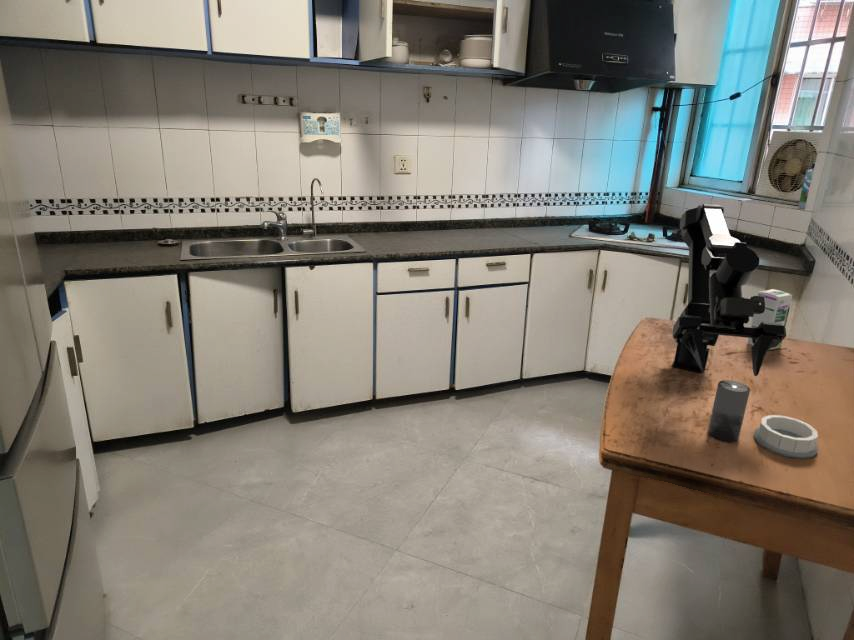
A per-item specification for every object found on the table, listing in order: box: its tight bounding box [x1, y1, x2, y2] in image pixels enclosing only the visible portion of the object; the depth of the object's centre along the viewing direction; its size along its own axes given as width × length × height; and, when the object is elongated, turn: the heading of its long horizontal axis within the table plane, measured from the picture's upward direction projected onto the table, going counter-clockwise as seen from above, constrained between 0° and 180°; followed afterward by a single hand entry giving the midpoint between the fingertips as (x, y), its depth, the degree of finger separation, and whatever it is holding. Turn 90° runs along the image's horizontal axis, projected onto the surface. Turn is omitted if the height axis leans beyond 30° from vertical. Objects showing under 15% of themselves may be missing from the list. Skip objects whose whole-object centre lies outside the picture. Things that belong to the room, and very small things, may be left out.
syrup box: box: [747, 288, 793, 351], centre depth 151 cm, size 6×6×14 cm
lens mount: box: [753, 414, 819, 459], centre depth 107 cm, size 10×10×3 cm
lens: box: [707, 379, 751, 443], centre depth 108 cm, size 5×5×10 cm
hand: (729, 372), depth 110 cm, fingers open, 9 cm apart
